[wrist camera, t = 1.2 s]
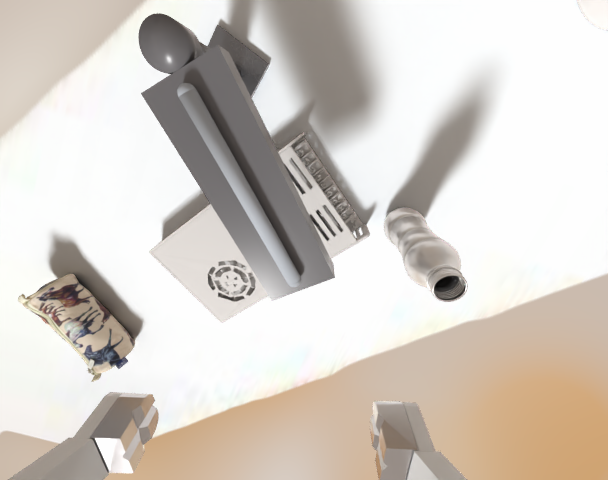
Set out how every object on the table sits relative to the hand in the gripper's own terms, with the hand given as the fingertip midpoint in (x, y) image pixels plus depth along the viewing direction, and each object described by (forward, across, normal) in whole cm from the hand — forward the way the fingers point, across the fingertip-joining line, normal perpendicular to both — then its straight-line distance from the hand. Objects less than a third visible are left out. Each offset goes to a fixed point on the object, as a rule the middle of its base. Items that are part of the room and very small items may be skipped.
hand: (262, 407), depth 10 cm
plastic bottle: (+39, -17, +6) cm, 43 cm away
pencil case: (+41, +44, +28) cm, 66 cm away
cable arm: (+23, +5, -5) cm, 24 cm away
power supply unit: (+40, +8, +9) cm, 42 cm away
